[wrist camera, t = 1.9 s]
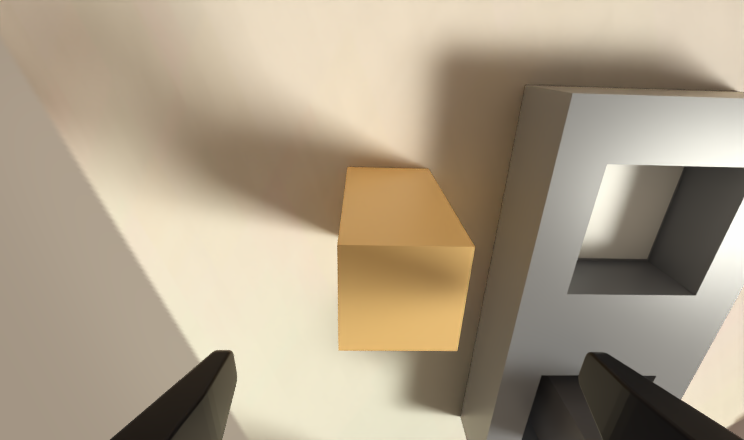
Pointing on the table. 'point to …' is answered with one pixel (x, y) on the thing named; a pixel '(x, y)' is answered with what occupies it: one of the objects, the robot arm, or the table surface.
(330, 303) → the table surface
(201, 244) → the table surface
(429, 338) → the amber plug
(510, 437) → the grey piece
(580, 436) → the dark gray plug
